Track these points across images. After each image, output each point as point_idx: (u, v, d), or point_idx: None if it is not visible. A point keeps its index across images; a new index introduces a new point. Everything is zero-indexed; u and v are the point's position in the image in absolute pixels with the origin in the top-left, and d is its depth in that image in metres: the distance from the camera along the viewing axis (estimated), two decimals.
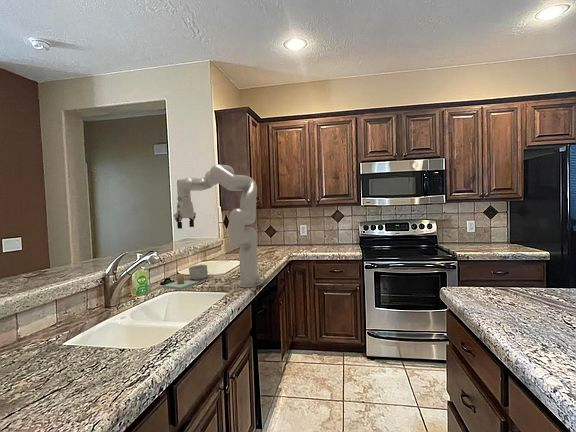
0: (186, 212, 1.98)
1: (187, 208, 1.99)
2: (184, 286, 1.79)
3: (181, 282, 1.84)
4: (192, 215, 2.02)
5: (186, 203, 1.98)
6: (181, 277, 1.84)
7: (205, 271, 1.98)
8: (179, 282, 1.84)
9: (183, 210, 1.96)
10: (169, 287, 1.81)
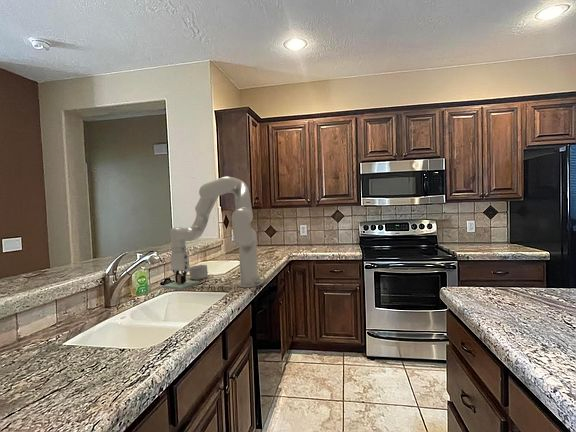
0: None
1: None
2: (184, 286, 1.79)
3: None
4: None
5: None
6: None
7: (205, 271, 1.98)
8: (179, 282, 1.84)
9: None
10: (169, 287, 1.81)
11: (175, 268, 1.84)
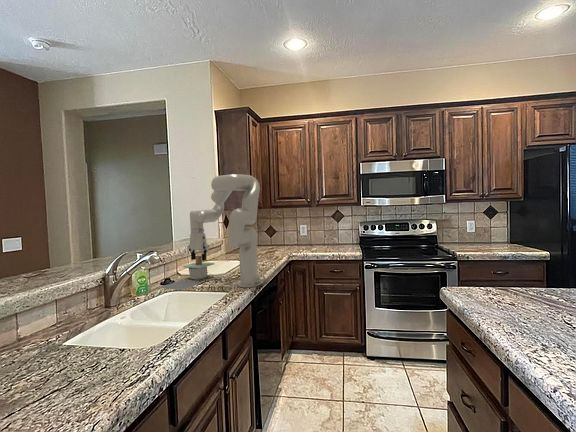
0: None
1: None
2: (202, 266, 1.95)
3: (199, 263, 1.99)
4: None
5: None
6: (199, 258, 1.99)
7: (205, 271, 1.98)
8: (197, 263, 1.99)
9: None
10: (188, 267, 1.96)
11: (194, 248, 1.99)
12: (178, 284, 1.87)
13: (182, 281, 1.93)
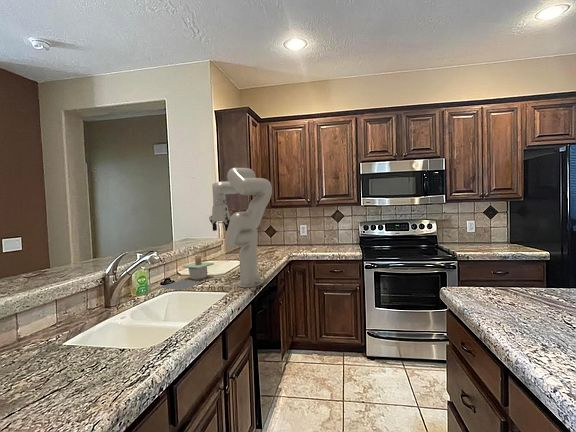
0: None
1: None
2: (202, 266, 1.94)
3: (199, 263, 1.99)
4: None
5: None
6: (198, 258, 1.99)
7: (205, 271, 1.97)
8: (197, 263, 1.99)
9: None
10: (188, 267, 1.96)
11: (216, 219, 2.02)
12: (178, 284, 1.87)
13: (182, 281, 1.93)
